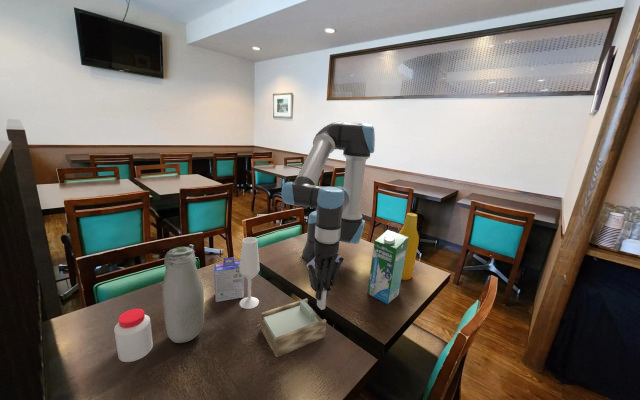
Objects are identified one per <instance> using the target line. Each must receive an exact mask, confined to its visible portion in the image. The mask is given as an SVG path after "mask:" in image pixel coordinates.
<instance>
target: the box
mask: <svg viewBox="0 0 640 400" xmlns="http://www.w3.org/2000/svg"><path fill="white" fill-rule="evenodd" d="M303 300H305V302H306V303H307V304H308V303H309V302H308V301H309V299H308V298H307V297H306V298H303V299H300V300H297V301H293V302H290V303H288V304H285V305H282V306H281V305H280V306H278V307H275V308H272V309H268V310H266V311H262V312H260V331H261V333H262V334H263V336H264V338H265V340H266V341H267V343H268V346H269V347H270V349H271V351H272V352H273V355H274V356H275V358H279V357H281V356H284V355H286V354H289V353H291V352H294V351H296V350H298V349H301V348H302V347H305V346H307V345H309V344H312V343H314V342H317V341H319V340H322V339H324V338H325V337H326V330H327V320H326V319H325V318H324V319H322V318H321V317H320V316H319V315H318V314H317V313H316V314H315V317H316V318H317V320H318V322H316V323H313V324H310V325H308V326H305V327H303V328H300V329H297V330H295V331H292V332H289V333H287V334H284V335H282V336H279V337H276V341H275V339H274V338H273V336H272V334H271V332H270V331H269V329H268V327H267V325H266V324H265V322H264V317H266V316H269V315H272V314H275V313H278V312H281V311H284V310H287V309H290V308H293V307H296V306H299V305H300V301H303ZM308 305H309V304H308ZM311 309H312V310H313V311H314V312H315V310H314V309H313V308H312V307H311Z"/></svg>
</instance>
